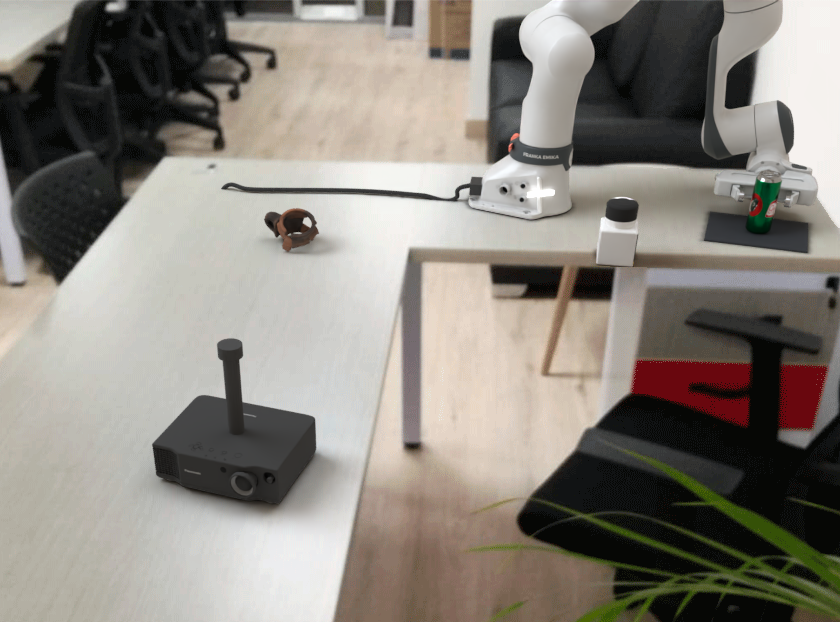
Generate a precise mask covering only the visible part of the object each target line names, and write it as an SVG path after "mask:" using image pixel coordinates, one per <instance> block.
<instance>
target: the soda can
mask: <svg viewBox="0 0 840 622" xmlns="http://www.w3.org/2000/svg"><path fill="white" fill-rule="evenodd" d="M781 176H782V175H781V173H779V172H776V171H771V170H764V171H760V172H759V175H758V176H757V177H756V180H755V185H754V189H753V194H752V198H751V199H750V204H749V207H748V212H747V215H746V216H747V220H746V225H745V228H746V229H747V231H749V232H750V233H754V234H766V233H768V232H769V231H770V230H771V226H772V222H773V219H775V218H774V217H775V213H776V210H777V204H778V202H777V201H778V197H779V193H780V188H781V184H782V178H781Z"/></svg>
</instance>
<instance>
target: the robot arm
mask: <svg viewBox="0 0 840 622" xmlns="http://www.w3.org/2000/svg"><path fill="white" fill-rule="evenodd" d="M640 1H641V0H550V1H549V2H547V3H546V4H544V5H543V6H541V7H539V8H536V9H534V10H532V11H531V12H529V13H528V14H527V15H526V16H525V17H524V18H523V20H522V21H521V25H520V27H519V32H518V39H519V44H520V47H521V51H522V54H523V55H524V56H525V57H526V58H527V59H528V60H529V61H530V62H531V64H532V74H531V75H532V76H531V79H530V84H529V87H528V90H527V93H526V96H525V97H524V98H523V100H522V105H521V117H520V126H519V127H520V128H519V133H518V132H517V133H513V135H512V136H511V137H510V141H509V144H508V154H507V155H505V156H504V157H503V158H501V159H499V160H498V161H496V162H495V163H493V164H492V165H490V166H489V167H488V168H487V169H486V171H485V172H484V174H483V176H471V178H470V182H469V183H465V184H461V185H458V186H457V187H456V188H455V190H454V195H453V197H449V198H444V197H439V196H436V195H433V194H429V193H425V192H415V191H414V192H413V191H403V190H392V189H391V190H390V189H389V190H388V189H375V188H374V189H373V188H355V187H354V188H352V187H351V188H349V187H259V186H257V187H256V186H245V185H242V184H239V183H236V182H226V183H224V184H223V185H222V186H221V190H222V191H223V190H227V189H229V188H235V189H237V190H240V191H244V192H253V193H256V192H257V193H260V192H261V193H345V194H347V193H348V194H349V193H350V194H372V195H388V196H400V197H412V198H423V199H428V200H431V201H440V202H442V201H443V202H456V201H458V200H459V198H460V195H461V193H460V192H461V191H463V190H467V189H469V193H468V194H469V195H468V196H469V197H468V205H469V207H470V208H472V209H477V210H481V211H487V212H490V213H495V214H501V215H506V216H510V217H516V218H520V219H526V220H538V219H541V218H543V217H544V218H545V217H551V216H557V215H561V214H564V213H566V212H568V211H569V210H570V209H571V208H572V207H573V205H572V199H571V198H572V197H571V190H570V169H571V166H572V163H573V157H574V156H573V155H574V140H573V133H574V125H575V117H576V109H577V104H578V99H579V97H580V93H581V89H582V86H583V84H584V80H585V78H586V75H587V74H588V73H589V72H590V70H591V69H592V67H593V64H594V61H595V55H596V54H595V53H596V52H595V46H594V43H593V41H592V38H591V36H593V35H594V34H596V33H598V32H599V31H600V30H602V29H604V28H606V27H608V26H611V25H612V24H615V23H617V22H619V21H620V20H621V19H622V18H624V16H625V15H627V14H628V13H629V11H631V10H632V8H634V7H635V6H636V5H637V4H638V3H639V2H640ZM783 2H784V1H783V0H722V3H723V13H724V14H723V15H724V17H723V23H722V26H721V29H720V31H719V33H717V34H716V35H715V36H714V37H713V38H712V40H711V43H710V47H709V53H708V64H707V65H708V66H707V78H706V79H707V80H706V96H705V109H704V119H703V123H702V127H701V134H700V138H701V139H700V140H701V146H702V149H703V152H704V153H706V154H707V155H708V156H710V157H711V158H713V159H715V160H718V161H719V160H724V159H727V158H732V157H734V156H736V155H741V154H747V153H749V155H748V158H747V163H746V167H745V170H737V169H723V170H721V171H720V172H719V173H715V176H714V181H715V182H714V186H713V194H714V195H716V196H717V197H726V198H733V199H734V201H735V202H737V203H743V202H744V199H745V200H751V198H752V194H753V189H754V185H755V180H756V177H757V176H758V175H759V172H760V171H764V170H771V171H776V172H779V173H781V175H782V176H781V178H782V184H781V188H780V193H779V197H778V201H777V203H780V204H783V208H792V206H794V205H796V206H797V205H798V206H806V207H807V206H808V207H810V206H813V205H815V204H816V200H817V197H818V192H819V184H818V181H817V178H816V177H815V176H814V175H813V168H812V167H809V166H805V165H801V164H797V163H794V162H791V161H790V154H789V153H791V150H792V149H793V147H794V145H795V142H794V141H795V125H794V124H795V123H794V117H793V114H792V110H791V109H790V108H789V107H788V105H786V104H785V103H784V102H783V101H781V100H779V99H777V100H770V101H765V102H760V103H755V104H752V105H747V106H742V107H741V106H740V107H737V108H727V107H726V106H725V104H726V102H725V101H726V93H727V92H726V91H727V78H728V77H727V76H728V73H729V71H730V70H731V69H732V68H733V67H734V65H736V64H737V63H738V62H740V61H741V60H742V59H744V58H746V57H747V56H749V55H751V54H752V53H754V52H756V51H757V50H759V49H760V48H762V47H763V46H765V45H766V44H767V43H768V42H769V41H771V39H773V37H774V36H775V35H776V34H777V32H778V31H779V29H780V27H781V25H782V22H783V15H784V14H783V13H784V11H783V10H784V8H783V6H784V5H783Z"/></svg>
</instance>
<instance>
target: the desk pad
mask: <svg viewBox="0 0 840 622" xmlns="http://www.w3.org/2000/svg"><path fill="white" fill-rule="evenodd" d="M747 216H748V215H745V214H738V213H737V214H735V213H727V212H718V211H709V216H708V220H707V225H706V229H705V234H704V238H703V241H705V242H713V243H722V244H730V245H737V246H745V247H755V248H763V249H769V250H770V249H771V250H777V251H778V250H779V251H786V252H795V253H804V254H808V251H809V250H808V249H809V222H805V221H796V220H789V219H779V218H773V222H772V226H771V230H770V231H769V232H768V233H766V234H754V233H750V232H749V231H747V229H746V228H745V225H746V220H747Z"/></svg>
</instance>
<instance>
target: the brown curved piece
mask: <svg viewBox="0 0 840 622" xmlns="http://www.w3.org/2000/svg"><path fill="white" fill-rule="evenodd" d="M306 218H308V219H309V220H310V222H311V226H308V225H307V224H305V223H304V219H306ZM263 221H264V224H265V226H266V227H267V228H268V229H269V230H270V231H271V232H272V233H273V235H274V237H275V238H278V237H281V239H283V242H282V245H281V248H282V250H284V251H286V252H287V253H289V252H290V251H291V250H292V249H296V248H300V247H303V246H306V245H309V244H310V243H311V242H312V241H313V240H314V239H315V238H316V236H317V235H320V231H319V229H318V226H316V225H317V224H318V221H317V220H316V219H315V216H314V215H313V214H312V213H311V212H310V211H308V210H305V209H303V208H299V207H296V208H293V207H292V208H290V209H287V210H285V211H283V212H282V214H281V213H279V212H276V211H269V212H267V213H265V215H264V218H263ZM289 235H290V236H289Z"/></svg>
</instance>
